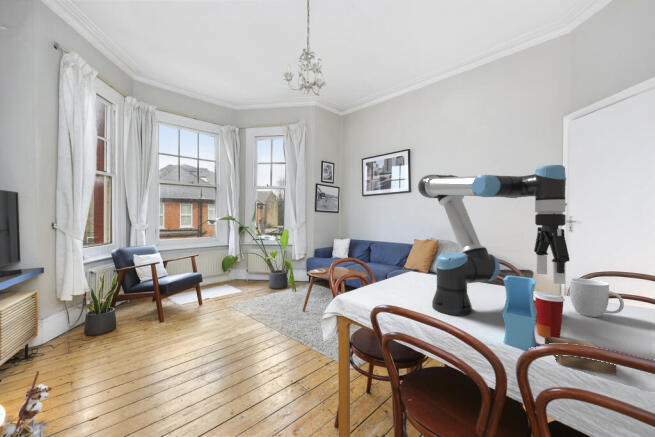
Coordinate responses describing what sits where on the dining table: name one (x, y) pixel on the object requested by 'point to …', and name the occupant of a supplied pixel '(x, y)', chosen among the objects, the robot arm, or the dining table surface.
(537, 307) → the paper cup
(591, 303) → the mug
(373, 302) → the dining table surface
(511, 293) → the vase
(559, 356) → the base
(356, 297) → the dining table surface
